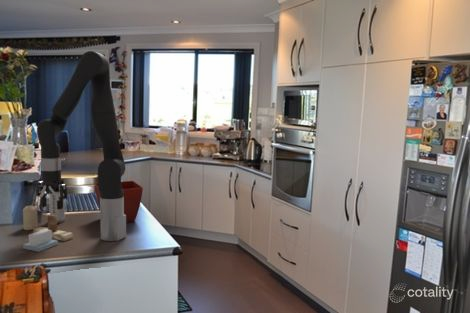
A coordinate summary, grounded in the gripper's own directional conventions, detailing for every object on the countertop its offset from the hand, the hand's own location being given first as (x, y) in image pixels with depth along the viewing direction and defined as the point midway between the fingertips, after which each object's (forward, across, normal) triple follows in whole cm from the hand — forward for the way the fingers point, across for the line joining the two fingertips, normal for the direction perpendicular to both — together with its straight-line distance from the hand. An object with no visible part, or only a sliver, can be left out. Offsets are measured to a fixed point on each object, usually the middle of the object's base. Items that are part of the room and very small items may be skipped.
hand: (51, 207), depth 162 cm
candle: (+12, +17, -4) cm, 21 cm away
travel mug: (+12, +15, -17) cm, 26 cm away
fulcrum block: (+12, -6, +11) cm, 17 cm away
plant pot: (+12, -8, -32) cm, 35 cm away
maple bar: (+12, 0, 0) cm, 12 cm away
